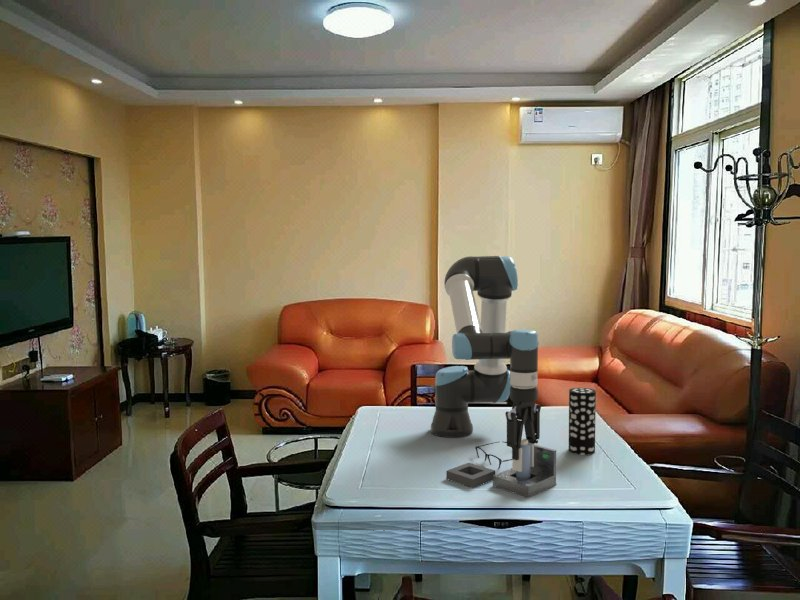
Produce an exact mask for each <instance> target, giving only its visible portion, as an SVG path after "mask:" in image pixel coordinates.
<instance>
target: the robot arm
mask: <svg viewBox="0 0 800 600" xmlns="http://www.w3.org/2000/svg"><path fill="white" fill-rule="evenodd" d="M518 281H519V280H518V271H517V266H516V264H515V261H514V259H513V258H512V257H511V256H505V255H504V256H503V255H489V256H488V255H485V256H484V255H483V256H470V255H469V256H465V257H462V258H460V259H458V260H456V261H455V262H454V263H453V264H451V266H450V267H449V269H448V270H447V271H446V274H445V276H444V283H443V284H444V289H445V290H444V291H445V293H446V294H447V295H448V296H449V300H450V304H451V309H452V315H453V319H454V320H453V321H454V326H455V331H456V333H455V334H453V335H452V338H451V349H452V356H453V358H454V359H456V360H465V361H470V360H472V361H473V360H478V361H477V362H476V363H475V364H474V366H473V367H474V369H473V370H469V369H468V366H465V365H460V366H459V365H455V366H454V365H452V366H447V367H443V368H441V369H439V370H437V372H436V373H435V382H434V385H435V411H434V415H433V418H432V422H431V424H430V433H431V434H433V435H434V436H438V437H444V438H462V437H467V436H470V435H472V434H473V433H474V432H473V430H474V427H473V423H472V421H471V420H472V419H471V417H470V413H469V404H482V403H483V404H486V403H488V404H489V403H491V404H496V403H504V402H506V401H507V400H508V399H510V400H511V401H512V407H511V410H510V411H506V412H505V419H506V442H507V443H506V447H509V448H511V459H513V460H512V468H513V470H516V471H519V472H522V448H520V446H521V439H523V437H522V436H523V431H524V432H525V439H527V440H528V443H529V444H530V467H534V445H537V444H538V443H539V440H540V435H541V434H540V431H541V430H540V428H541V427H540V426H541V424H540V423H541V420H540V419H541V418H540V417H541V416H540V415H541V409H542V405H541V404H538V403H537V404H536V403H535V402H536V401H538V395H539V394H538V392H539V391H538V389H539V388H538V386H537V385H538V370H539V369H538V366H539V365H538V363H539V362H538V361H539V358H538V357H539V356H538V355H539V338H538V337H539V335H538V332H537V331H535V330H533V329H523V328H522V329H520V328H519V329H513V330H510V331H507V332H506V321H507V320H506V318H507V317H506V316H507V305H508V304H507V301H508V300H509V299H510V298H512V293H513V292H514V291H516V290H518V286H519V282H518ZM512 291H513V292H512ZM474 292H477V296H478V298H480V300H481V306H480V307H481V308H480V317H479V311H478V308H477V303H476V300H475V296H474ZM507 359H509V364H510V365H509V367H510V368H509V369H508V366H507V365H506V364H505V363H504V360H507ZM516 443H517V444H516Z"/></svg>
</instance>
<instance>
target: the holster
mask: <svg viewBox="0 0 800 600" xmlns="http://www.w3.org/2000/svg"><path fill="white" fill-rule="evenodd" d="M445 474H446V477H445V479H446V480H448V479H449V480H448V481H451V480H452V481H451V482H453V481H455V482H454V483H456V482H458V483H457V484H459V483H461V484H460V485H462V484H464V485H463V486H465V485H466V487H468V486H469V487H468V488H471V487H472V488H471V489H474V488H477V487H479V486H481V484H482V485H484V484H487V483H489V482H491V480H492V481H493V475H496V470H495V469H492V468H489V467H485V466H481V465H479V464H476V463H471V462H467V463H464V464H461V465H458V466H455V467H453V468H450V469H447V470H446V471H445ZM488 481H489V482H488ZM486 482H487V483H486ZM483 483H484V484H483ZM478 485H479V486H478ZM476 486H477V487H476ZM473 487H474V488H473Z"/></svg>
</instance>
